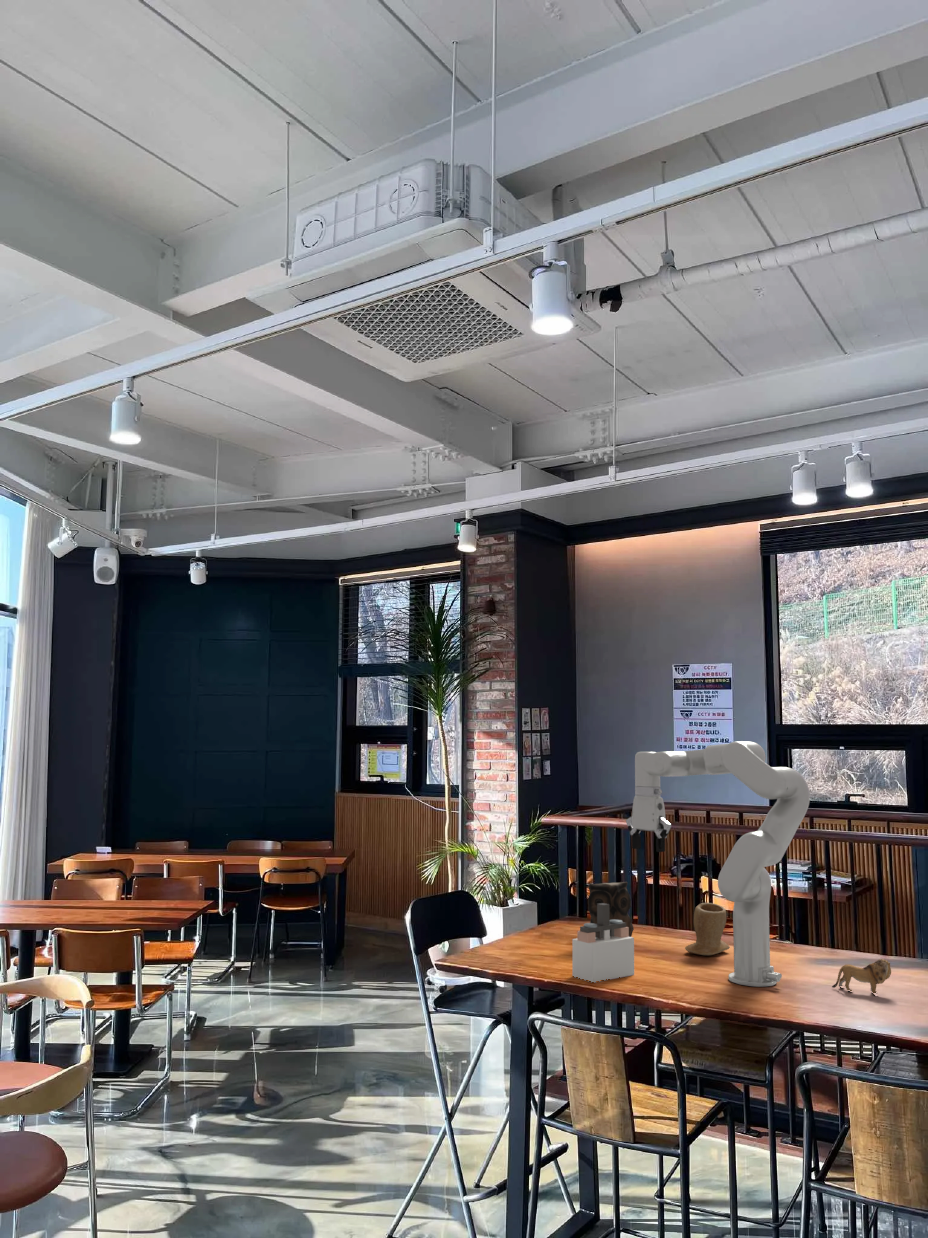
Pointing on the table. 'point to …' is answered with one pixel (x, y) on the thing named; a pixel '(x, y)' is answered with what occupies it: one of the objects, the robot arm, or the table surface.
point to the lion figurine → (865, 974)
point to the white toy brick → (603, 955)
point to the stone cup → (708, 929)
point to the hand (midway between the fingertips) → (648, 850)
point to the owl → (611, 902)
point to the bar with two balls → (602, 922)
